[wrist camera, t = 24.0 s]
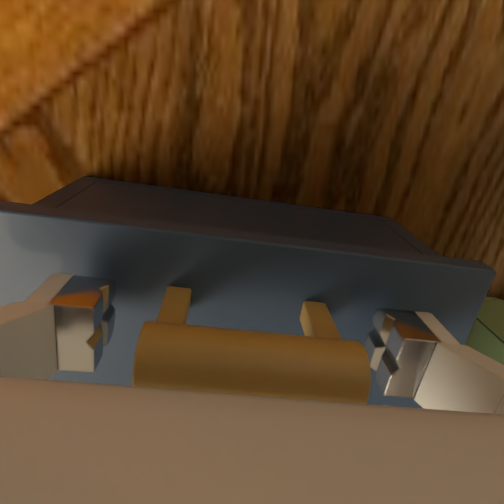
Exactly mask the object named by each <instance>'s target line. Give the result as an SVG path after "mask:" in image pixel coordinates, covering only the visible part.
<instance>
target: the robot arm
mask: <svg viewBox="0 0 504 504" xmlns="http://www.w3.org/2000/svg"><path fill="white" fill-rule="evenodd" d="M115 295H116V284H115V281H114V280H112V279H104V278H96V277H88V276H80V275H74V274H64V273H53V274H51V275H50V276H49V277H48V278H47V279H46V280H45V281H44V282H43V283H42V284H41V285H40V286H39V287H38V288H37V289H36V290H35V291H34V292H33V293H32V294H31V295H30V296H29V297H28V298H27V299H26V300H25V301H24V302H19V301H17V302H14V303H10V304H7V305H4V306H1V307H0V504H504V365H503V364H501V363H499V362H497V361H495V360H494V359H492V358H490V357H488V356H486V355H484V354H482V353H480V352H478V351H476V350H474V349H472V348H471V347H469V346H467V345H461V344H460V343H459V342H458V341H457V340H456V339H455V338H454V337H453V336H452V335H451V334H450V333H449V331H448V330H447V329H446V328H445V327H444V326H443V325H442V324H441V323H440V322H439V321H438V320H437V319H436V318H435V317H434V315H433V314H431V313H429V312H419V311H409V310H397V309H384V308H379V309H377V310H376V311H375V313H374V315H373V318H372V324H373V326H374V329H373V330H372V331H370V332H369V333H368V334H367V337H366V340H365V344H364V348H365V349H366V352H367V354H368V358H369V362H370V368H371V369H373V370H374V371H375V372H376V375H375V379H376V381H377V383H378V385H379V387H380V389H381V391H382V393H383V395H384V396H394V397H403V398H412V399H414V401H416V402H417V403H418V404H419V405H420V406H421V407H422V408H412V407H399V406H386V405H373V404H360V403H346V402H333V401H320V400H307V399H294V398H281V397H268V396H255V395H242V394H229V393H216V392H203V391H190V390H177V389H164V388H151V387H138V386H124V385H111V384H98V383H85V382H72V381H59V380H47V379H48V378H50V377H51V376H52V375H54V374H55V373H57V370H60V371H79V372H94V371H95V369H96V367H97V365H98V363H99V361H100V359H101V357H102V355H103V346H105V345H107V344H108V343H109V341H110V339H111V337H112V333H113V329H114V324H115V311H116V309H115V308H114V307H113V305H112V304H111V303H112V301H113V299H114V297H115Z"/></svg>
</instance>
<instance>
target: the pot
mask: <svg viewBox="0 0 504 504" xmlns="http://www.w3.org/2000/svg"><path fill="white" fill-rule="evenodd" d="M465 345H467V346H469V347H471V348H472V349H474V350H476V351H478V352H480V353H482V354H484V355H486V356H488V357H490V358H492V359H494V360H495V361H497V362H499V363H501V364H503V365H504V300H502V299H499V298H494V297H485V299H484V302H483V304H482V306H481V308H480V311H479V313H478V315H477V317H476V320H475V322H474V324H473V327H472V329H471V331H470V333H469V336H468V338H467V340H466V342H465Z"/></svg>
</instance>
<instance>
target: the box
mask: <svg viewBox="0 0 504 504" xmlns="http://www.w3.org/2000/svg"><path fill="white" fill-rule="evenodd" d="M32 205H38V206H46V207H54V208H62V209H70V210H78V211H86V212H94V213H102V214H110V215H118V216H126V217H134V218H142V219H150V220H158V221H166V222H174V223H182V224H190V225H198V226H206V227H214V228H221V229H229V230H237V231H245V232H253V233H261V234H269V235H277V236H285V237H293V238H301V239H309V240H317V241H325V242H333V243H341V244H349V245H357V246H365V247H373V248H381V249H389V250H397V251H405V252H413V253H421V254H429V255H437V256H441V255H439V254H438V253H437V252H435V251H434V250H433V249H431V248H430V247H429V246H427V245H426V244H425V243H423V242H422V241H421V240H419V239H418V238H417V237H416V236H414V235H413V234H412V233H410V232H409V231H408V230H406V229H405V228H404V227H402V226H401V225H400V224H398V223H397V222H395V221H394V220H393V219H391V218H390V217H383V216H376V215H369V214H361V213H354V212H346V211H339V210H332V209H324V208H317V207H309V206H302V205H295V204H287V203H280V202H273V201H265V200H258V199H250V198H243V197H236V196H228V195H221V194H213V193H206V192H199V191H191V190H184V189H177V188H169V187H162V186H154V185H147V184H140V183H132V182H125V181H117V180H110V179H103V178H95V177H88V176H84V177H82V178H80V179H79V180H76V181H74V182H72V183H70V184H69V185H67V186H65V187H63V188H61V189H59V190H58V191H56V192H54V193H52V194H50V195H49V196H47V197H45V198H43V199H41V200H39V201H38V202H36V203H34V204H32Z"/></svg>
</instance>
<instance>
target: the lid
mask: <svg viewBox="0 0 504 504" xmlns="http://www.w3.org/2000/svg"><path fill="white" fill-rule="evenodd" d="M53 273H64V274H74V275H80V276H88V277H96V278H104V279H112V280H114V281H115V284H116V295H115V297H114V299H113V301H112V303H111V304H112V305H113V307H114V308H115V309H116V311H115V324H114V329H113V333H112V337H111V339H110V341H109V343H108V344H107V345H105V346H103V355H102V357H101V359H100V361H99V363H98V365H97V367H96V369H95V371H94V372H79V371H60V370H57V373H55V374H54V375H52V376H51V377H50V378H48V379H47V380H59V381H72V382H85V383H98V384H111V385H124V386H138V387H151V388H164V389H177V390H190V391H203V392H216V393H229V394H242V395H255V396H268V397H281V398H294V399H307V400H320V401H333V402H346V403H360V404H373V405H386V406H399V407H412V408H422V407H421V406H420V405H419V404H418V403H417V402H416V401H414V399H412V398H403V397H394V396H384V395H383V393H382V391H381V389H380V387H379V385H378V383H377V381H376V379H375V375H376V372H375V371H374V370H373V369H371V368H370V362H369V358H368V354H367V352H366V349H365V348H364V344H365V340H366V337H367V334H368V333H369V332H370V331H372V330H373V329H374V326H373V324H372V318H373V315H374V313H375V311H376V310H377V309H379V308H384V309H397V310H409V311H419V312H429V313H431V314H433V315H434V317H435V318H436V319H437V320H438V321H439V322H440V323H441V324H442V325H443V326H444V327H445V328H446V329H447V330H448V331H449V333H450V334H451V335H452V336H453V337H454V338H455V339H456V340H457V341H458V342H459V343H460V344H461V345H465V342H466V340H467V338H468V336H469V333H470V331H471V329H472V327H473V324H474V322H475V320H476V317H477V315H478V313H479V311H480V308H481V306H482V304H483V302H484V299H485V297H486V295H487V292H488V290H489V288H490V286H491V283H492V281H493V279H494V277H495V274H496V271H495V270H494V269H492V268H491V267H489V266H488V265H486V264H485V263H483V262H482V261H476V260H468V259H460V258H452V257H445V256H437V255H429V254H421V253H413V252H405V251H397V250H389V249H381V248H373V247H365V246H357V245H349V244H341V243H333V242H325V241H317V240H309V239H301V238H293V237H285V236H277V235H269V234H261V233H253V232H245V231H237V230H229V229H221V228H214V227H206V226H198V225H190V224H182V223H174V222H166V221H158V220H150V219H142V218H134V217H126V216H118V215H110V214H102V213H94V212H86V211H78V210H70V209H62V208H54V207H46V206H38V205H30V204H22V203H14V202H6V201H0V307H1V306H4V305H7V304H10V303H14V302H17V301H19V302H24V301H25V300H26V299H27V298H28V297H29V296H30V295H31V294H32V293H33V292H34V291H35V290H36V289H37V288H38V287H39V286H40V285H41V284H42V283H43V282H44V281H45V280H46V279H47V278H48V277H49V276H50V275H51V274H53Z"/></svg>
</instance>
